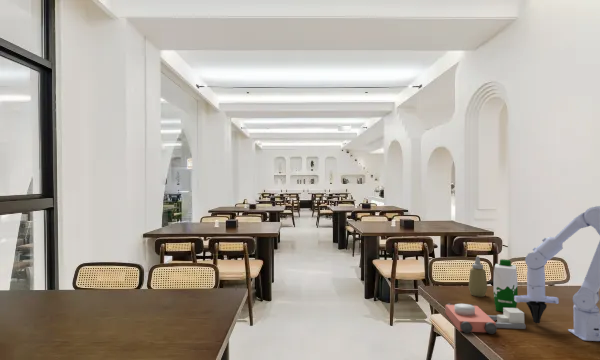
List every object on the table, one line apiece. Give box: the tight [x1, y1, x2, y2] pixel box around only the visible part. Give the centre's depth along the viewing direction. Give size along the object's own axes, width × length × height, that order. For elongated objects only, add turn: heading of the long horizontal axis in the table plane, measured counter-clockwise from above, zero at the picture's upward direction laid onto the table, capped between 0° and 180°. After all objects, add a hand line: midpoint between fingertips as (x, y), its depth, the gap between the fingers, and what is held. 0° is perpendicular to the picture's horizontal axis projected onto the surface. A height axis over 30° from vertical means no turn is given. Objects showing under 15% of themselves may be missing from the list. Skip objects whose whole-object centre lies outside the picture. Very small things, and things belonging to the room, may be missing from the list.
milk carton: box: [493, 258, 519, 313], centre depth 165 cm, size 9×9×20 cm
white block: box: [496, 307, 525, 324], centre depth 148 cm, size 6×8×5 cm
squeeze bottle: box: [468, 255, 488, 298], centre depth 188 cm, size 8×8×18 cm
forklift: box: [444, 303, 527, 335], centre depth 149 cm, size 23×24×6 cm
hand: (536, 322), depth 147 cm, fingers closed
